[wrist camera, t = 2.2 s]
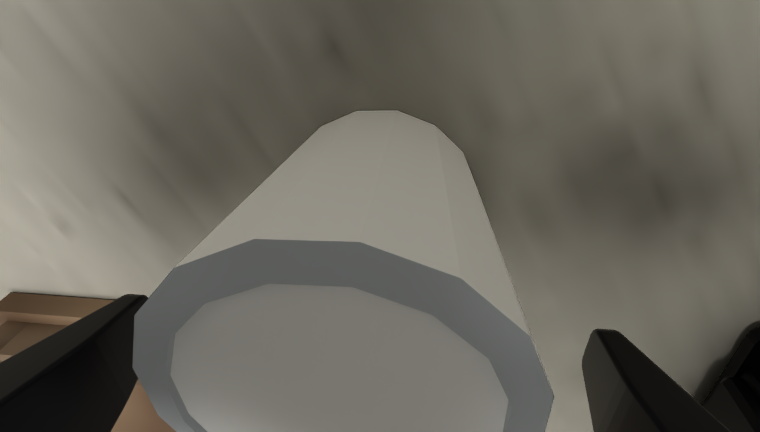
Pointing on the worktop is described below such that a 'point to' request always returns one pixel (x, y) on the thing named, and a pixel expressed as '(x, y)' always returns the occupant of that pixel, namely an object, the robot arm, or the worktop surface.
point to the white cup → (347, 300)
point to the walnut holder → (47, 316)
